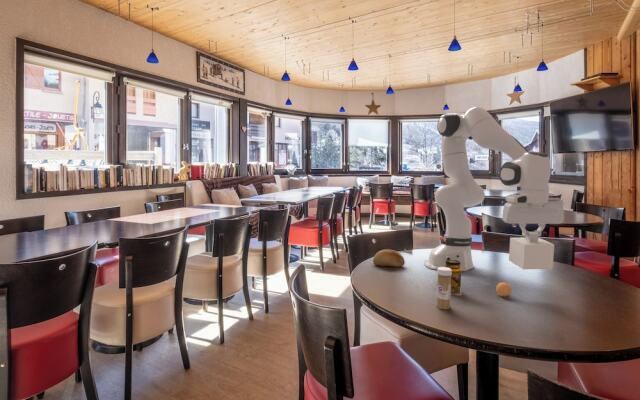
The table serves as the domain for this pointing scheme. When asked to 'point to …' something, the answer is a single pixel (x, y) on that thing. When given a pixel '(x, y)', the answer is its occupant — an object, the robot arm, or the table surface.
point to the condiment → (455, 276)
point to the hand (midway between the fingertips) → (531, 235)
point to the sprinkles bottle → (444, 287)
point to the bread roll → (388, 258)
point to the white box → (531, 252)
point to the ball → (503, 289)
